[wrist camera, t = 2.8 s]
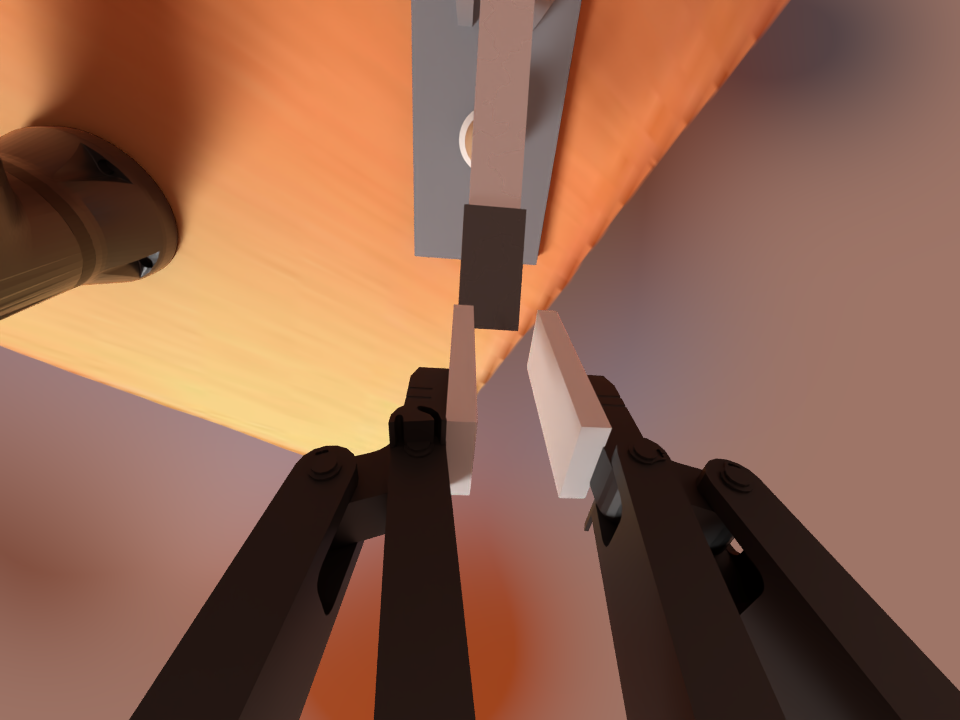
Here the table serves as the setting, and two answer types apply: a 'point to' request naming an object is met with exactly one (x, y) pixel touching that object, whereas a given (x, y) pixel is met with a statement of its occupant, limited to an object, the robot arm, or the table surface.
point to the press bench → (458, 99)
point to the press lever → (497, 167)
